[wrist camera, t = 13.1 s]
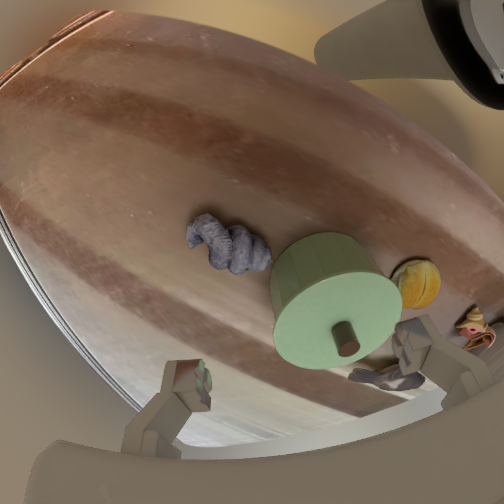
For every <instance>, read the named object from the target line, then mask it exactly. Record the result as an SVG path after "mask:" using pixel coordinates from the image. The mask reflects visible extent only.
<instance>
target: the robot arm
mask: <svg viewBox="0 0 504 504" xmlns="http://www.w3.org/2000/svg"><path fill="white" fill-rule="evenodd" d="M456 6H457V13H458V18H459V21H460V24H461V27H462V30H463V32H464V34H465V37H466V39H467V41H468V42H469V44H470V46H471V48H472V49H473V51H474V52H475V53H476V55H477V56H478V57H479V59H480V60H481V61H482V62H483V63H484V65H485V66H486V67H487V70H488V72H489V74H490V76H491V78H492V80H493V82H494V83H496V84H504V0H457V2H456ZM394 330H395V332H396V333H395V334H394V335H393V336H392V341H391V342H392V349H393V352H394V355H395V356H396V357H398V358H399V359H400V360H399V366H400V369H401V371H402V373H403V376H404V375H407V374H411V373H414V372H417V371H420V372H422V373H423V374H424V375H425V376H427V377H428V378H429V379H430V380H432V381H433V382H434V383H435V384H437V385H438V386H439V387H441V388H442V389H443V390H444V391H446V392H447V395H446V396H445V398H444V399H443V400H442V403H441V406H442V408H443V411H441V412H438V413H436V414H434V415H431V416H429V417H427V418H424V419H422V420H419V421H417V422H414V423H411V424H408V425H406V426H403V427H400V428H397V429H394V430H391V431H388V432H385V433H382V434H379V435H375V436H372V437H369V438H365V439H361V440H357V441H354V442H350V443H346V444H341V445H337V446H332V447H327V448H323V449H317V450H312V451H307V452H300V453H293V454H286V455H278V456H269V457H259V458H245V459H223V460H221V459H220V460H198V459H196V460H195V459H181V451H180V450H179V449H178V448H177V447H175V446H174V445H173V444H172V442H173V440H174V439H175V438H176V436H177V435H178V433H179V432H180V430H181V429H182V427H183V426H184V424H185V423H186V421H187V420H188V418H189V417H190V415H191V414H192V413H191V412H205V411H210V407H211V397H210V396H209V394H208V393H209V392H210V391H211V389H212V381H211V375H210V372H209V370H208V369H206V368H205V363H204V361H203V360H202V359H193V360H174V361H167V363H166V365H165V370H164V375H163V380H162V385H161V391H160V393H156V395H155V396H154V397H153V398H152V399H151V400H150V401H149V402H148V403H147V405H146V406H145V407H144V408H143V409H142V410H141V411H140V412H139V413H138V414H137V415H136V417H135V418H134V419H133V420H132V421H131V422H130V423H129V424H128V425H127V426H126V428H125V433H124V438H123V443H122V448H121V453H119V452H114V451H108V450H102V449H98V448H93V447H88V446H84V445H79V444H76V443H72V442H68V441H64V440H56V441H55V442H53V443H52V444H51V445H49V446H48V447H47V448H46V449H45V450H44V451H43V452H42V453H40V454H39V455H38V457H37V458H36V460H35V462H34V464H33V467H32V469H31V473H30V476H29V480H28V484H27V488H26V493H25V498H24V503H23V504H504V378H503V379H502V380H500V381H498V382H497V383H496V381H495V379H494V377H493V375H492V373H491V372H490V370H489V368H488V366H487V364H486V363H485V361H483V360H482V359H480V358H478V357H476V356H475V355H473V354H471V353H469V352H468V351H466V350H464V349H462V348H461V347H459V346H457V345H455V344H453V343H452V342H450V341H448V340H443V338H442V336H441V335H440V333H439V331H438V330H437V328H436V326H435V325H434V323H433V322H432V320H431V318H430V317H429V315H427V314H425V315H422V316H419V317H415V318H411V319H408V320H405V321H402V322H398V323H396V325H395V328H394Z"/></svg>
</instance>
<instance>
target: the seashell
mask: <svg viewBox="0 0 504 504" xmlns="http://www.w3.org/2000/svg"><path fill="white" fill-rule="evenodd" d="M186 240H187V242H188V246H189V247H190V248H191V249H192V248H194V247H195V246H197V245H198V244H200V243H203V241H205V242H206V244H207V245H208V249H209V262H210V265H211V266H212V267H214V268H216V269H225V268H227V267H228V269H229V271H230V272H231V273H233V274H236V275H239V274H243V273H244V272H245V271H247V270H252V271H255V272H256V271H258V272H261V271H263V270H265V269H266V268H267V266H268V265H269V264H270V263H272V262H273V260H272V259H271V251H270V248H269V247H268V246H267V245H264V241H263V239H262V238H261V237H259V236H258V235H255V234H250V233H249V231H248V230H247V229H246V228H245V227H244V226H242V225H241V224H239V225H231V226H229V227H227V228H226V229H225V227H224V226H223V225H222V224H221V223H220V221H218V219H216V217H214V216H213V215H211V214H208V213H207V214H205V215H200V216H198V217H196V218H194V219H193V220H192V221H191V222H190V224H189V225H188V227H187V232H186Z"/></svg>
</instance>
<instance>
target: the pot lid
mask: <svg viewBox="0 0 504 504" xmlns="http://www.w3.org/2000/svg"><path fill="white" fill-rule="evenodd" d="M401 313H402V298H401V294H400V292H399V290H398V288H397V287H396V285H395V284H394V282H392V281H391V280H390V279H389V278H388V277H386V276H385V275H383V274H380V273H378V272H375V271H370V270H362V269H357V270H346V271H340V272H336V273H333V274H330V275H327V276H324V277H322V278H319V279H317V280H315V281H313V282H311V283H310V284H308V285H307V286H305V287H303V288H302V289H301V290H299V291H298V292H297V293H295V294H294V295H293V296H292V297H291V298H290V299H289V300H288V301H287V302H286V304H285V305H284V306H283V307H282V309H281V310H280V312H279V313H278V316H277V318H276V320H275V323H274V327H273V341H274V345H275V348H276V349H277V351H278V353H279V354H280V355H281V356H282V357H283V358H284V359H285V360H286V361H288V362H290V363H291V364H293V365H296V366H299V367H302V368H307V369H330V368H336V367H340V366H344V365H347V364H350V363H353V362H355V361H357V360H359V359H361V358H363V357H365V356H367V355H368V354H370V353H371V352H373V351H374V350H376V349H377V348H378V347H379V346H380V345H382V344H383V343H384V342H385V341H386V340H387V339H388V337H389V336H390V335H391V334H392V332H393V331H394V328H395V325H396V323H398V322H399V319H400V316H401Z"/></svg>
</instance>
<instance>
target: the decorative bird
mask: <svg viewBox="0 0 504 504" xmlns="http://www.w3.org/2000/svg"><path fill="white" fill-rule="evenodd" d="M347 378H348V379H349V380H352V381H355V382H361V383H371V384H374V385H375V386H378V387H379V388H380V389H383V390H387V391H404V390H410V389H416V388H419V387H420V386H421V385H422V384H423V383H424V382H425V377H424V376H423V375H421V374H420V373H418V372H414V373H411V374H407V375H404V376H403V373H402V371H401V369H400V366H399V364H394V365H391V366H389V367H386V368H384V369H382V370H381V371H380V372H378V371H377V370H374V371H369V370H365V369H359V368H354V369H353V372H352V373H350V374H349V376H348V377H347Z"/></svg>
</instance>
